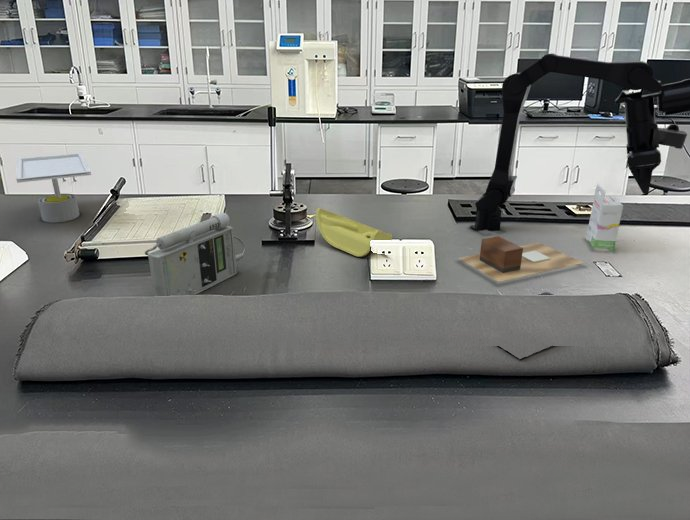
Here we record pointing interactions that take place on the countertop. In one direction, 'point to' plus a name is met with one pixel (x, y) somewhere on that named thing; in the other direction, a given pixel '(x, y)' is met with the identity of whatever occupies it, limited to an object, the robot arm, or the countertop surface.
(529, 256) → the chalk patch
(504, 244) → the brown boxy piece
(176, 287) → the geiger counter
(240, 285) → the countertop surface
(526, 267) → the board
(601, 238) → the ink box
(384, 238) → the plastic component
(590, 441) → the countertop surface
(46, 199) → the solar panel model
